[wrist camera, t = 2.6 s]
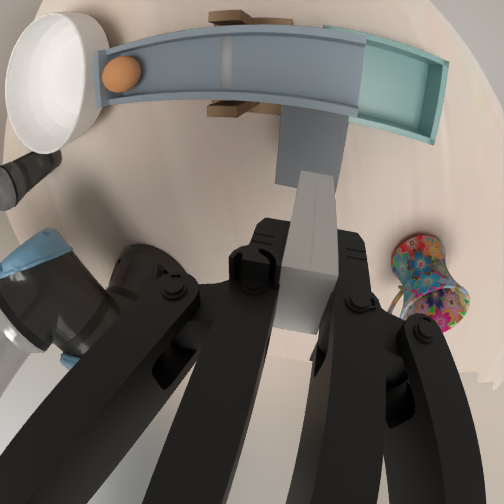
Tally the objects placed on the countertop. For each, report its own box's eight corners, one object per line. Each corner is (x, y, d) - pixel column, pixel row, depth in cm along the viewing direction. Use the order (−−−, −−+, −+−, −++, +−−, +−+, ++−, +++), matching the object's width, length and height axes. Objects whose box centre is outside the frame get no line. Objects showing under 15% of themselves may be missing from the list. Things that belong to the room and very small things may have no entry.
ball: (119, 91, 20) (95, 98, 18) (118, 58, 18) (93, 61, 15) (149, 87, 20) (125, 93, 17) (148, 51, 18) (124, 53, 15)
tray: (315, 109, 25) (314, 115, 22) (321, 31, 19) (323, 24, 16) (419, 134, 23) (433, 145, 20) (431, 61, 17) (448, 61, 14)
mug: (424, 216, 29) (452, 272, 21) (455, 255, 31) (479, 310, 23) (361, 267, 36) (366, 328, 28) (396, 297, 38) (405, 354, 30)
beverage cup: (43, 166, 37) (-34, 226, 22) (43, 132, 32) (-45, 189, 17) (66, 178, 38) (-15, 246, 23) (67, 142, 33) (-29, 207, 18)
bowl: (70, 1, 17) (27, 4, 11) (157, 34, 22) (111, 32, 15) (35, 104, 29) (-2, 121, 23) (102, 155, 34) (64, 180, 27)
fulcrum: (214, 109, 27) (176, 128, 20) (216, 20, 20) (175, 5, 13) (286, 114, 26) (273, 133, 19) (292, 20, 19) (281, -2, 12)
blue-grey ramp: (132, 158, 27) (106, 174, 24) (123, 46, 18) (92, 49, 15) (341, 192, 21) (338, 215, 18) (364, 38, 13) (367, 29, 10)
